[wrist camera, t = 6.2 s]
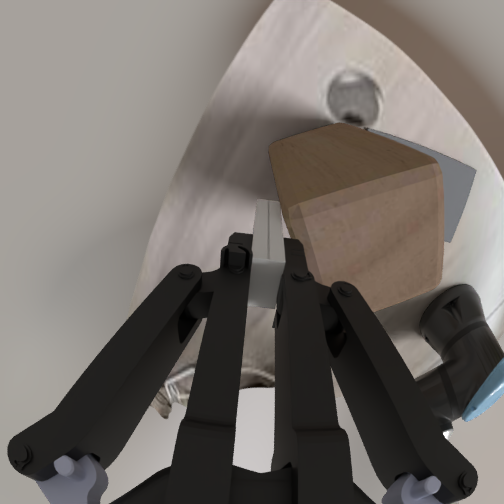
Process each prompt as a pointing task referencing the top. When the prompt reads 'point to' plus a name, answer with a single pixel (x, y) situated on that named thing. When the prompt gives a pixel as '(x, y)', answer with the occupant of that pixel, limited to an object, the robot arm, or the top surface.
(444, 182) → the mat
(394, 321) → the top surface
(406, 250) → the block
